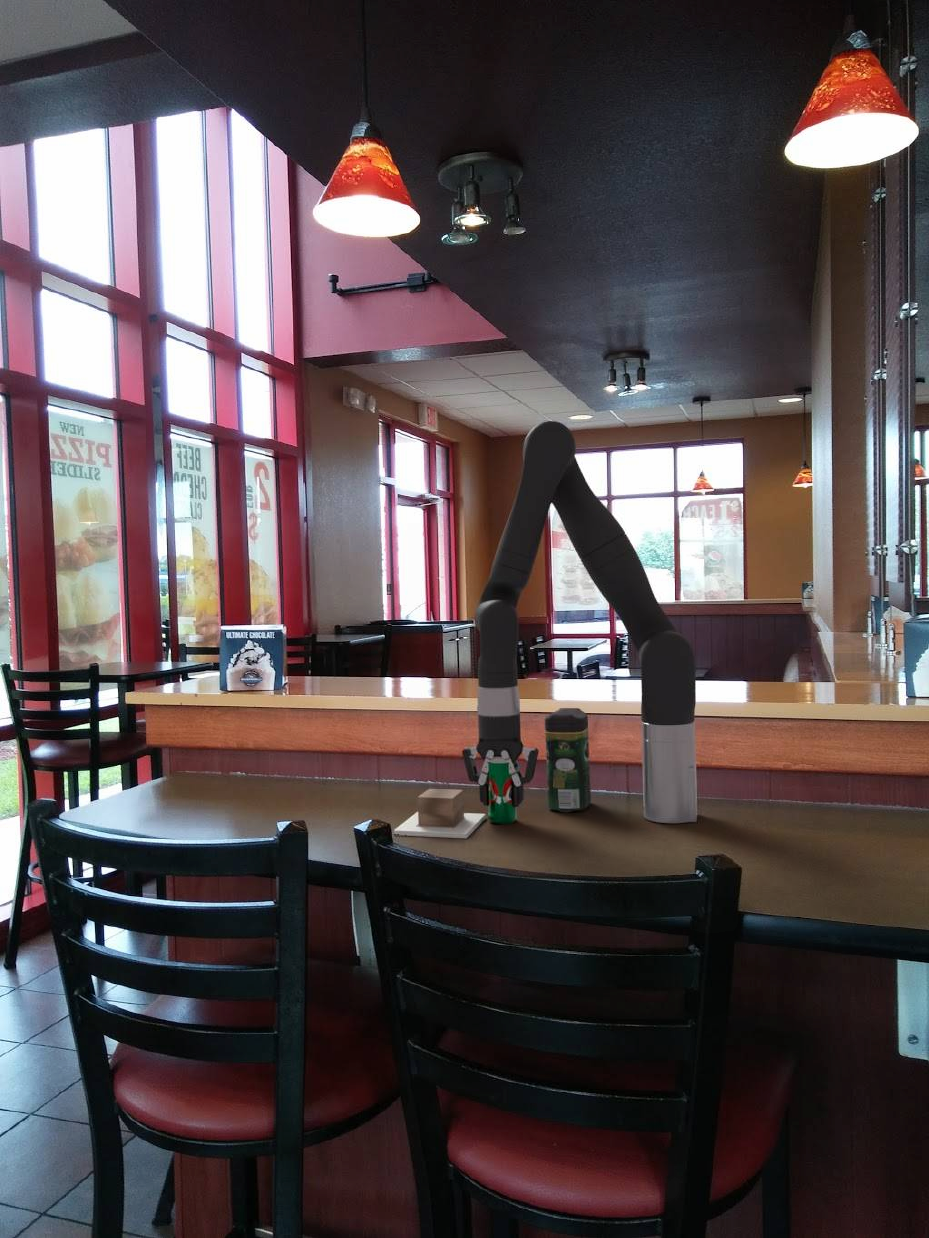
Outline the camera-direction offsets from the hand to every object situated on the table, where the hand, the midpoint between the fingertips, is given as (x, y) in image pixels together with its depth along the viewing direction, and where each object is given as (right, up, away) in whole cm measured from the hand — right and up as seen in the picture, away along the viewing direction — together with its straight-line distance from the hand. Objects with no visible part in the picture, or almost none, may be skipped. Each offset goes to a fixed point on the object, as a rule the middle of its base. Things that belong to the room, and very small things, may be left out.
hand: (501, 804), depth 165 cm
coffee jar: (+13, -2, +9) cm, 16 cm away
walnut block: (-11, -3, -2) cm, 11 cm away
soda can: (0, -3, 0) cm, 3 cm away
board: (-11, -3, -2) cm, 11 cm away
